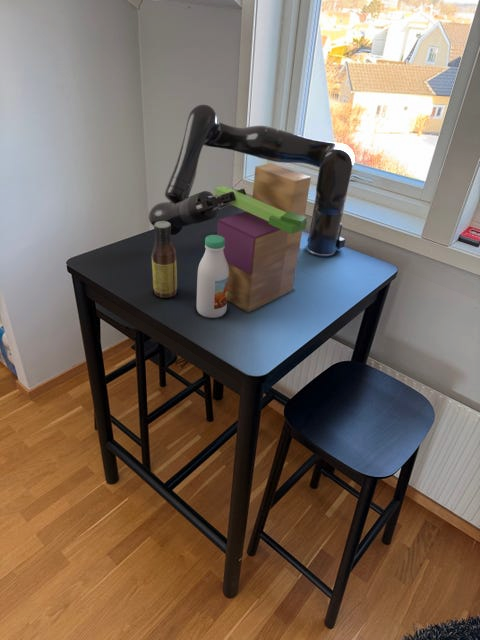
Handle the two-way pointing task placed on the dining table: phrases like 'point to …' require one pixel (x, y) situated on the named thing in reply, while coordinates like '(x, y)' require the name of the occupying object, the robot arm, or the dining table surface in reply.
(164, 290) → the sauce bottle
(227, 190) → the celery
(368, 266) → the dining table surface
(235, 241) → the towel
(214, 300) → the milk bottle
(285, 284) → the oak stand
